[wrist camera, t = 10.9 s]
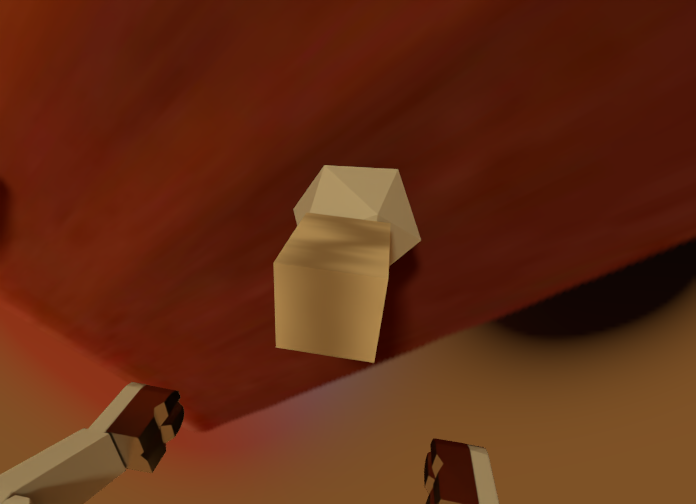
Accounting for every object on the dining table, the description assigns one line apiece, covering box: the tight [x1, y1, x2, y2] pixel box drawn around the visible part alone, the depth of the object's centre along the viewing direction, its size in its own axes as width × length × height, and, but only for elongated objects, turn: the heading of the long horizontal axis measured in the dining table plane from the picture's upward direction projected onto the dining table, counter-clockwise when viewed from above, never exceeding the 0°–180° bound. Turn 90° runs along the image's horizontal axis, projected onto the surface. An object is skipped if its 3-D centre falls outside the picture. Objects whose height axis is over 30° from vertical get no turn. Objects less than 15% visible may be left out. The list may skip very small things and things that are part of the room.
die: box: [293, 165, 421, 266], centre depth 24 cm, size 8×9×10 cm
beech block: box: [274, 212, 391, 363], centre depth 18 cm, size 5×5×6 cm
